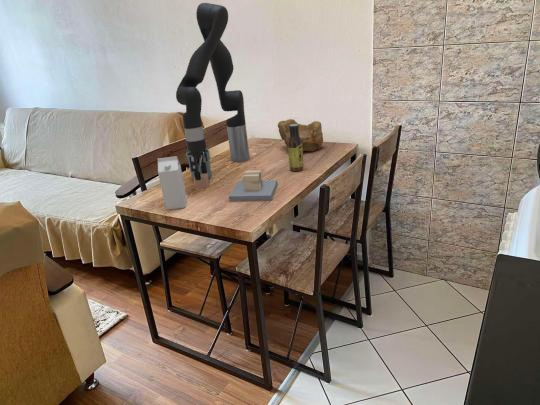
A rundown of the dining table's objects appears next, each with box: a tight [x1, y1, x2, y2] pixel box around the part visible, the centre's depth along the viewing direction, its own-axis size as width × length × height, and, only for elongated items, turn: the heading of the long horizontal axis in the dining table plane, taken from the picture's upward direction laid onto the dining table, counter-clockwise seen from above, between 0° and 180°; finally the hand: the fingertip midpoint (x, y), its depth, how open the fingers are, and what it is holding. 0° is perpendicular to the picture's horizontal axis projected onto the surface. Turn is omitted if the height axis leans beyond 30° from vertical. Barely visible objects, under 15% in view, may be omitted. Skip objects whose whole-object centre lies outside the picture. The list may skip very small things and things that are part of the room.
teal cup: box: [185, 148, 212, 181], centre depth 177 cm, size 10×10×12 cm
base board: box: [228, 179, 279, 202], centre depth 157 cm, size 16×16×2 cm
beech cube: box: [242, 170, 263, 191], centre depth 155 cm, size 6×6×6 cm
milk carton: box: [157, 156, 188, 211], centre depth 149 cm, size 7×7×19 cm
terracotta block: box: [193, 174, 210, 190], centre depth 168 cm, size 5×5×5 cm
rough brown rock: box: [277, 118, 324, 154], centre depth 201 cm, size 23×17×15 cm
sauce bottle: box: [287, 123, 304, 172], centre depth 174 cm, size 6×6×20 cm
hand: (201, 176), depth 166 cm, fingers open, 8 cm apart
